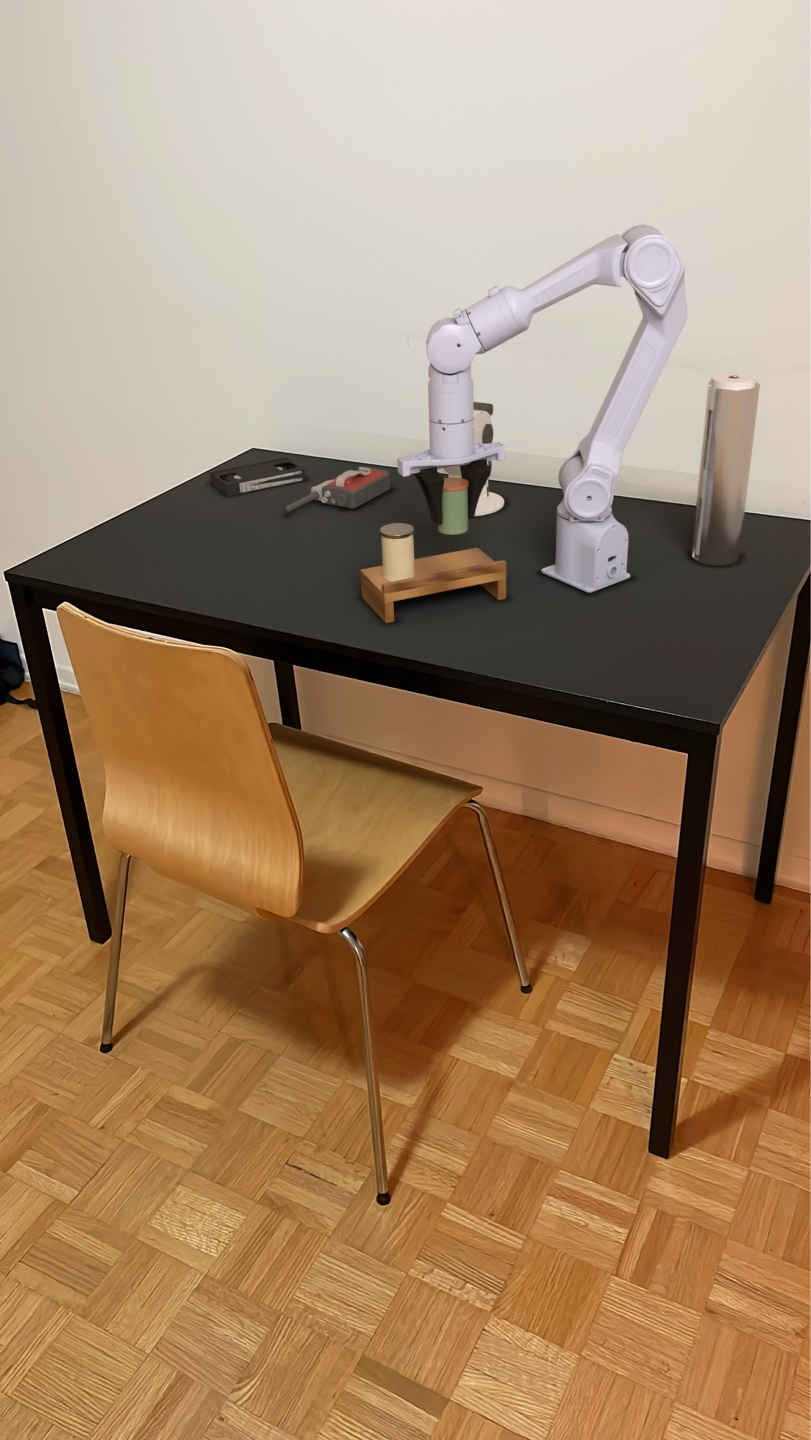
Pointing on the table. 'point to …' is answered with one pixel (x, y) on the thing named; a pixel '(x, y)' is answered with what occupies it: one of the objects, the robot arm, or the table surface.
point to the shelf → (434, 579)
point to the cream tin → (397, 551)
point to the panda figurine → (482, 436)
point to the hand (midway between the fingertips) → (453, 519)
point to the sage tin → (454, 506)
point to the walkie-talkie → (348, 488)
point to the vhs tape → (257, 476)
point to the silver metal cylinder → (724, 467)
